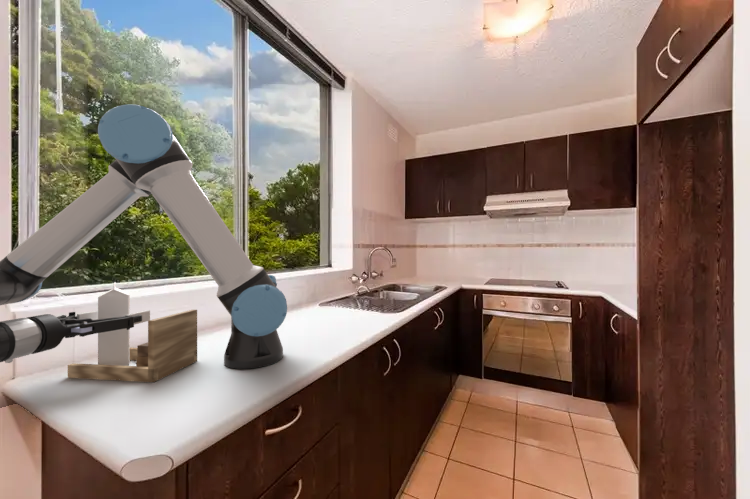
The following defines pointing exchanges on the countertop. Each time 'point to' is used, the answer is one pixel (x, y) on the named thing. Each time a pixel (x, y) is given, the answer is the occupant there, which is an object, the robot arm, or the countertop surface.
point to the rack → (152, 352)
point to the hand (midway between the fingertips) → (126, 314)
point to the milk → (118, 341)
